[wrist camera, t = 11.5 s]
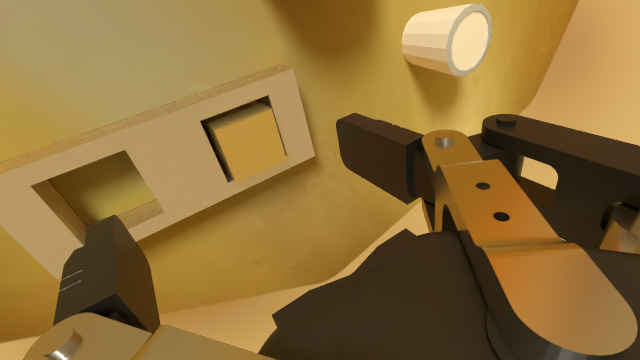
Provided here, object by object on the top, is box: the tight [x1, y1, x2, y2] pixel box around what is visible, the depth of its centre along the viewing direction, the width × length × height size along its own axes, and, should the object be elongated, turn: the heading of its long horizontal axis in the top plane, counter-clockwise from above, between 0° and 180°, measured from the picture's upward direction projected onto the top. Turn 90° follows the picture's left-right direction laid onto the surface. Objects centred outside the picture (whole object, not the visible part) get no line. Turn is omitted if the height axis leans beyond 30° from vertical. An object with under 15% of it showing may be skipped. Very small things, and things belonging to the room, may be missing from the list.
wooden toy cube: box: [203, 100, 287, 183], centre depth 28 cm, size 5×5×5 cm
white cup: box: [402, 4, 492, 77], centre depth 34 cm, size 7×7×7 cm
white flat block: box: [0, 65, 315, 279], centre depth 27 cm, size 24×9×3 cm, turn 104°
